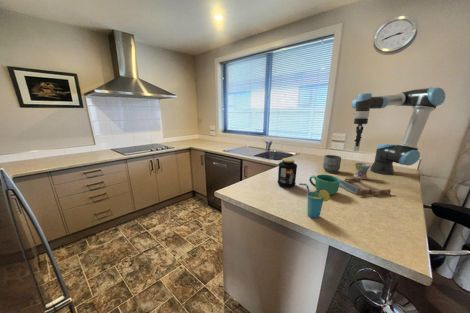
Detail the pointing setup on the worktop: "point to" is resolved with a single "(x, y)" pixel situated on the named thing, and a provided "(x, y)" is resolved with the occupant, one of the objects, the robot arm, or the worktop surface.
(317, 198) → the cup
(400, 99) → the robot arm
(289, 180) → the container
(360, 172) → the mug
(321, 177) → the mug
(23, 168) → the worktop surface
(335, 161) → the planter
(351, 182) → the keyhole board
